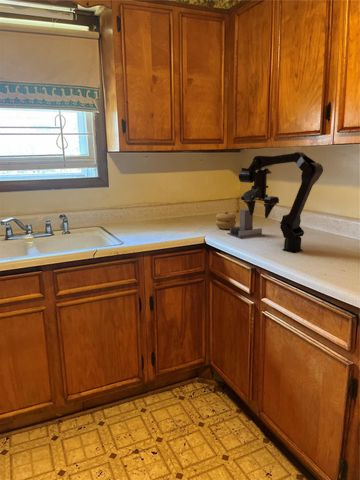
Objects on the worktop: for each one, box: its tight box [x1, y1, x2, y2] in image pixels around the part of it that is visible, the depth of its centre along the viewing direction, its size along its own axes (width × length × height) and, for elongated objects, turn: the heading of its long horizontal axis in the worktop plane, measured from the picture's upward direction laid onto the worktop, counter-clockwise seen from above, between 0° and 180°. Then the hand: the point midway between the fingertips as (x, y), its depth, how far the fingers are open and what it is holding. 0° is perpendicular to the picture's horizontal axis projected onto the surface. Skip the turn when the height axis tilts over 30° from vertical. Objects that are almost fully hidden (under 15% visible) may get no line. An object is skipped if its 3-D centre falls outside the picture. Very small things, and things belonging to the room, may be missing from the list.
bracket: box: [227, 225, 266, 240], centre depth 198 cm, size 13×15×4 cm
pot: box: [215, 210, 237, 230], centre depth 214 cm, size 12×12×10 cm
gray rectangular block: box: [239, 208, 254, 231], centre depth 197 cm, size 5×5×13 cm
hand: (258, 216), depth 177 cm, fingers open, 9 cm apart
